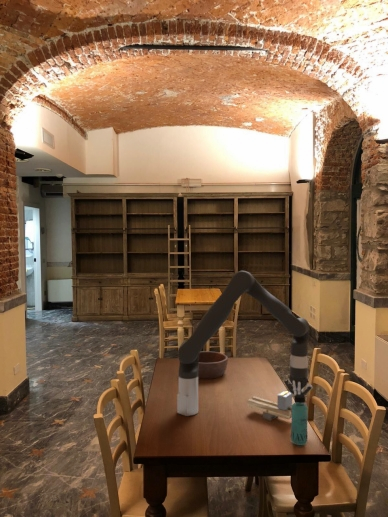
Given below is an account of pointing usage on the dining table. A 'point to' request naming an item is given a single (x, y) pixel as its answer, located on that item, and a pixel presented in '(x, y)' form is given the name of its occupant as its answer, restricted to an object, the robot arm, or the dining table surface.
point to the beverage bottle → (299, 421)
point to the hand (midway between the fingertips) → (298, 403)
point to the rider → (284, 400)
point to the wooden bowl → (211, 364)
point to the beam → (268, 408)
